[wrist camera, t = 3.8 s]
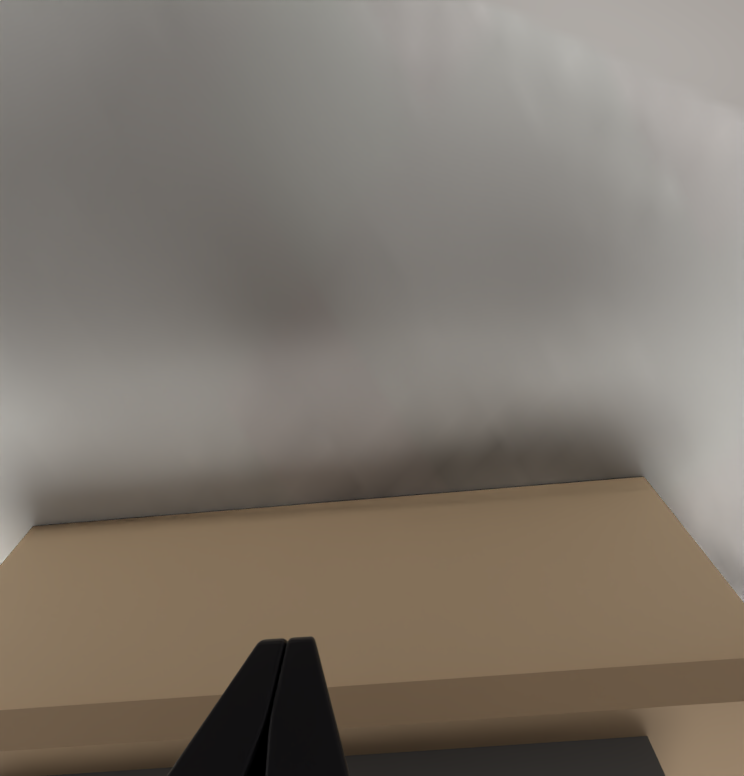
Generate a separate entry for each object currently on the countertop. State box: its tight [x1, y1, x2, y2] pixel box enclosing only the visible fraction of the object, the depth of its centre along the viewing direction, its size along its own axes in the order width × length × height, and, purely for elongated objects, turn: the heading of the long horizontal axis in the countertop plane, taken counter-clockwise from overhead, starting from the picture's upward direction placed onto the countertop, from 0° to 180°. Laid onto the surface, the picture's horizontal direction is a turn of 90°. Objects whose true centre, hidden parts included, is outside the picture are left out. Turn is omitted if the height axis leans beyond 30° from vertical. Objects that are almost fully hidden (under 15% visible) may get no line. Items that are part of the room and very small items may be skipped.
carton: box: [0, 477, 744, 710], centre depth 17 cm, size 18×16×6 cm
